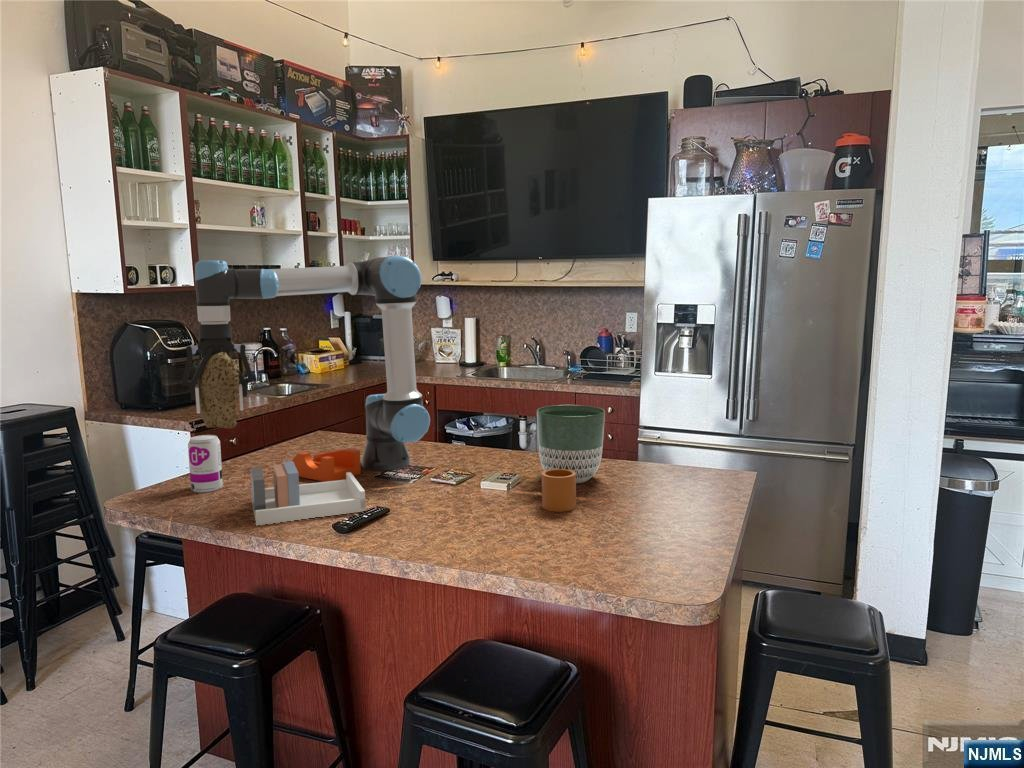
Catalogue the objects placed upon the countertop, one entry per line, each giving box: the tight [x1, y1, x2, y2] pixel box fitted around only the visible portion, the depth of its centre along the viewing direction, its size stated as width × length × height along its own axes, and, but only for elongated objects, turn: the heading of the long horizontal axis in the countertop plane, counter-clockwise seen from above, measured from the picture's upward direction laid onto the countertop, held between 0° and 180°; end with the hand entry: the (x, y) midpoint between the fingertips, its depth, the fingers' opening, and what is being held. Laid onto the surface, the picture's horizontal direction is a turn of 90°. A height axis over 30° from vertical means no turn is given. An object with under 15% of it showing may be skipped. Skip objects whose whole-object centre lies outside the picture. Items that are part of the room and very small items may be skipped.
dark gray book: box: [250, 466, 266, 513], centre depth 173 cm, size 2×14×9 cm, turn 23°
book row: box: [272, 460, 300, 508], centre depth 176 cm, size 5×13×10 cm, turn 23°
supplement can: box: [187, 434, 223, 494], centre depth 193 cm, size 8×8×15 cm
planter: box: [536, 404, 606, 485], centre depth 199 cm, size 20×20×21 cm
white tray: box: [250, 472, 366, 527], centre depth 178 cm, size 26×20×6 cm
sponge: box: [196, 352, 240, 429], centre depth 175 cm, size 13×8×20 cm, turn 59°
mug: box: [541, 469, 577, 513], centre depth 179 cm, size 9×12×9 cm
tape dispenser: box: [291, 448, 362, 482], centre depth 208 cm, size 18×13×8 cm
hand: (220, 411), depth 176 cm, fingers closed on sponge, 9 cm apart
